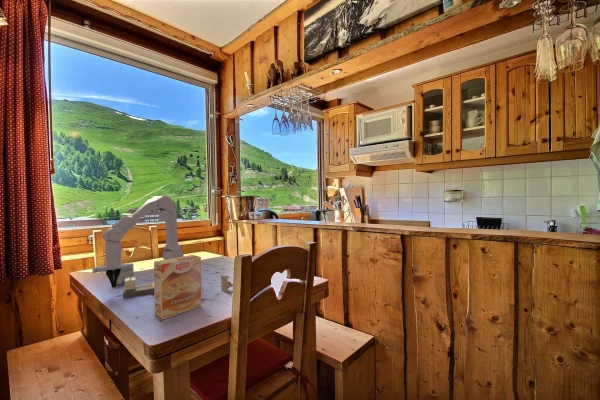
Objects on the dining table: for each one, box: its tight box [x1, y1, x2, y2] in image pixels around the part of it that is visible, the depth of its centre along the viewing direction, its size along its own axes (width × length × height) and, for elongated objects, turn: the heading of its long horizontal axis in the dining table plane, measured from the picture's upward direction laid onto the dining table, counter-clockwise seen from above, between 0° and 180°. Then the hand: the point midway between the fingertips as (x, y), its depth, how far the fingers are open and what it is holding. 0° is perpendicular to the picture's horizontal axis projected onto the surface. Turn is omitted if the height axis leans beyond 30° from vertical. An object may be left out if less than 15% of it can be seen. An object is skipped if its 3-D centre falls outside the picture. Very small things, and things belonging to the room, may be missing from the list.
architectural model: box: [220, 275, 234, 294], centre depth 121 cm, size 3×7×7 cm, turn 42°
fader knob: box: [124, 276, 137, 290], centre depth 120 cm, size 4×5×4 cm
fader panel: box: [122, 281, 154, 298], centre depth 123 cm, size 15×10×2 cm, turn 120°
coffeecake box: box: [153, 254, 202, 320], centre depth 101 cm, size 15×7×20 cm, turn 139°
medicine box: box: [116, 262, 135, 285], centre depth 137 cm, size 8×4×9 cm, turn 168°
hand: (114, 286), depth 117 cm, fingers closed
